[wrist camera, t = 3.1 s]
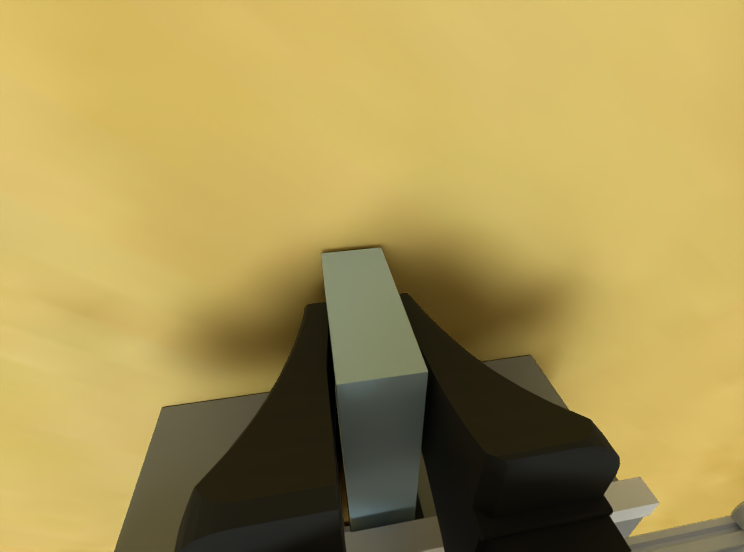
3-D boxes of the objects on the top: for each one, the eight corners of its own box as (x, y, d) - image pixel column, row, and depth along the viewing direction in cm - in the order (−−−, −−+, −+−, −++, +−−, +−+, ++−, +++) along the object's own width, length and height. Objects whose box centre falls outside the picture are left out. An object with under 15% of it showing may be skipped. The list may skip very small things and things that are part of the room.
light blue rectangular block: (382, 475, 21) (406, 602, 16) (344, 481, 21) (359, 612, 16) (381, 247, 13) (428, 371, 8) (321, 253, 13) (336, 384, 8)
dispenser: (496, 482, 24) (559, 628, 18) (220, 533, 22) (195, 716, 16) (539, 341, 17) (659, 502, 12) (150, 395, 15) (64, 623, 10)
